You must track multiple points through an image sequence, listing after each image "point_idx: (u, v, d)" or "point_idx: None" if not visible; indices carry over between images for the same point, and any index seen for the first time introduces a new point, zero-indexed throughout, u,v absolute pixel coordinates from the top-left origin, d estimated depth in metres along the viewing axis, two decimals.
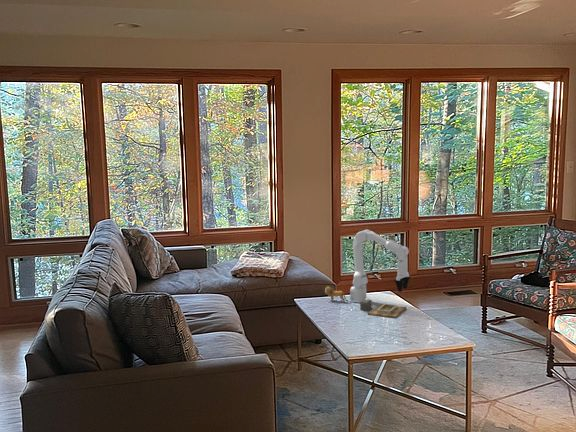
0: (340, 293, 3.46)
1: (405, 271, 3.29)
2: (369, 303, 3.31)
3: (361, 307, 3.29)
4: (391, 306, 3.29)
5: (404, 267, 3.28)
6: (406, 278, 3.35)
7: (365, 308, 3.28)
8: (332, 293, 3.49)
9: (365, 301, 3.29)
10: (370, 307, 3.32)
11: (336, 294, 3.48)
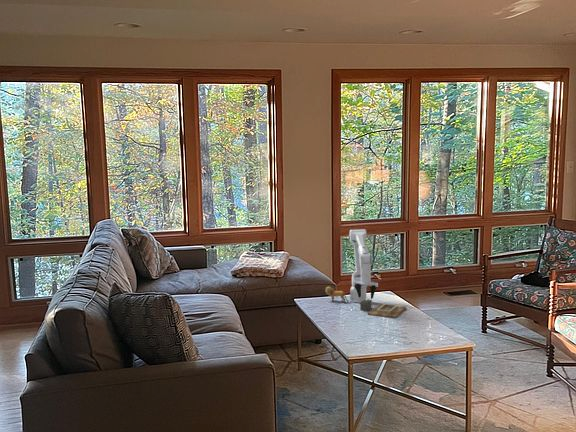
0: (341, 293, 3.46)
1: (361, 278, 3.28)
2: (369, 303, 3.31)
3: (361, 307, 3.29)
4: (391, 306, 3.29)
5: (362, 274, 3.27)
6: None
7: (365, 308, 3.28)
8: (333, 293, 3.49)
9: (365, 301, 3.29)
10: (370, 307, 3.32)
11: (337, 294, 3.48)
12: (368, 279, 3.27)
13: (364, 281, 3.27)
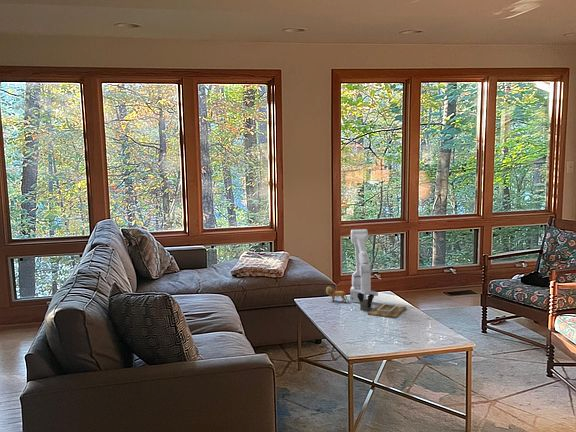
0: (341, 293, 3.46)
1: (361, 287, 3.28)
2: None
3: (361, 307, 3.29)
4: (391, 306, 3.29)
5: (362, 283, 3.27)
6: None
7: (365, 308, 3.28)
8: (333, 293, 3.48)
9: (365, 301, 3.29)
10: (370, 307, 3.32)
11: (337, 294, 3.47)
12: (368, 288, 3.27)
13: (364, 290, 3.27)
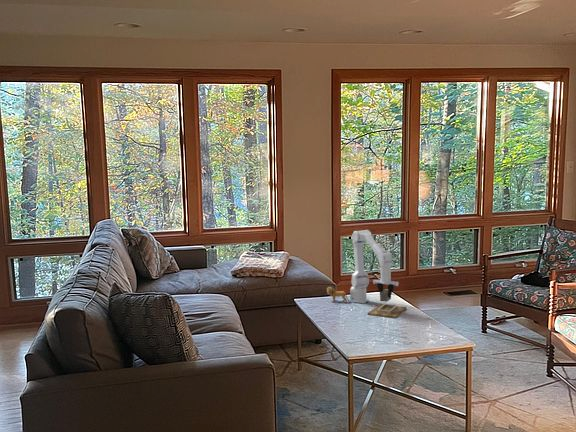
0: (342, 293, 3.46)
1: (381, 277, 3.22)
2: None
3: (381, 297, 3.22)
4: (391, 306, 3.29)
5: (384, 273, 3.20)
6: None
7: (385, 298, 3.21)
8: (334, 293, 3.48)
9: (385, 291, 3.22)
10: (390, 298, 3.25)
11: (338, 294, 3.47)
12: (388, 278, 3.21)
13: (384, 280, 3.21)
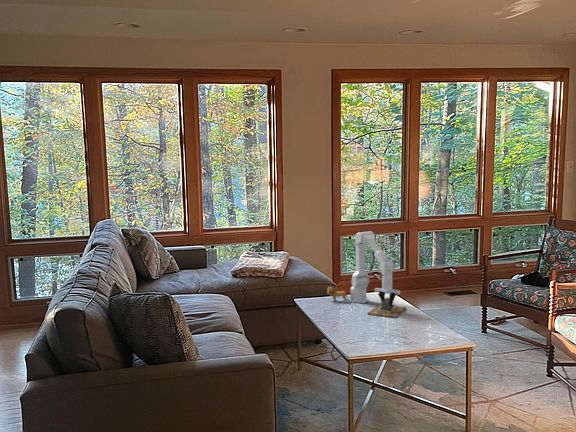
0: (342, 293, 3.45)
1: (383, 286, 3.22)
2: None
3: (382, 306, 3.22)
4: None
5: (386, 282, 3.20)
6: None
7: (387, 307, 3.21)
8: (334, 293, 3.48)
9: (386, 300, 3.23)
10: (391, 306, 3.25)
11: (338, 294, 3.47)
12: (390, 287, 3.21)
13: (386, 289, 3.21)
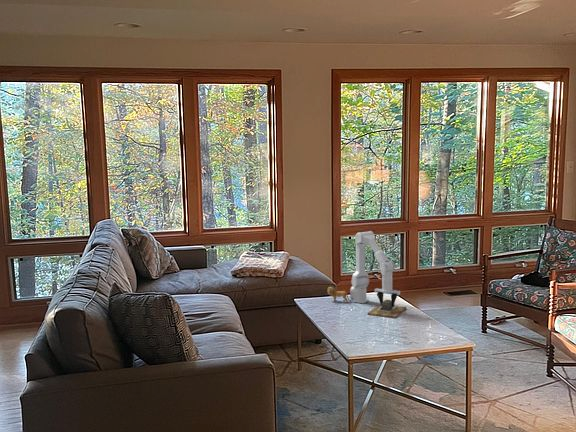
0: (343, 293, 3.45)
1: (383, 286, 3.22)
2: None
3: (382, 308, 3.22)
4: None
5: (386, 282, 3.20)
6: None
7: (386, 309, 3.21)
8: (335, 293, 3.48)
9: (386, 302, 3.23)
10: (391, 308, 3.25)
11: (339, 294, 3.47)
12: (390, 287, 3.21)
13: (386, 289, 3.21)
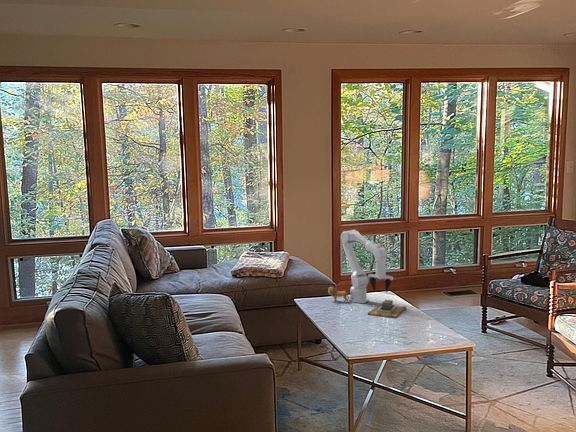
0: (343, 293, 3.45)
1: (376, 272, 3.32)
2: (391, 304, 3.24)
3: (382, 308, 3.22)
4: None
5: (380, 268, 3.30)
6: None
7: (386, 309, 3.21)
8: (335, 293, 3.48)
9: (386, 302, 3.23)
10: (391, 308, 3.25)
11: (339, 294, 3.47)
12: (383, 273, 3.31)
13: (379, 274, 3.31)
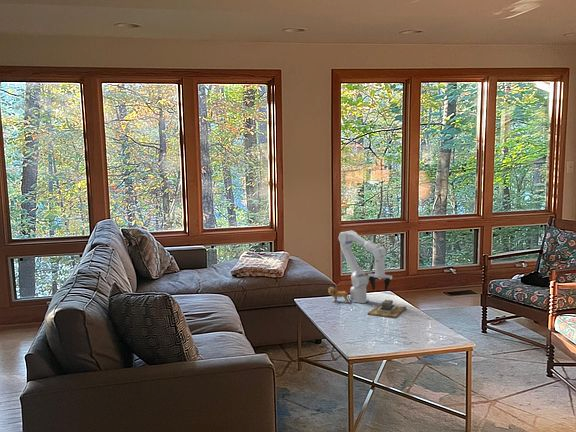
0: (344, 293, 3.45)
1: (376, 271, 3.34)
2: (391, 304, 3.24)
3: (382, 308, 3.22)
4: None
5: (380, 267, 3.32)
6: None
7: (386, 309, 3.21)
8: (336, 294, 3.47)
9: (386, 302, 3.23)
10: (391, 308, 3.25)
11: (340, 294, 3.46)
12: (382, 272, 3.33)
13: (378, 274, 3.33)
